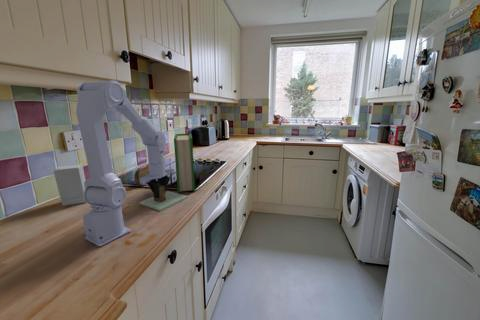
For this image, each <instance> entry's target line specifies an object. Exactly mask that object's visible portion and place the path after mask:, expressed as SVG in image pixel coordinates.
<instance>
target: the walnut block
mask: <svg viewBox="0 0 480 320" xmlns="http://www.w3.org/2000/svg"><path fill="white" fill-rule="evenodd" d="M152 197H154V195H152ZM165 200H166V197H165V186H163V185H159V198H155V197H154V201H157V202H163V201H165Z"/></svg>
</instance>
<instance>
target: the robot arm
mask: <svg viewBox="0 0 480 320" xmlns="http://www.w3.org/2000/svg"><path fill="white" fill-rule="evenodd" d="M76 94H77V95H76V96H77V104H76V110H75V113H76V118H77V122H78V127H79V132H80V136H81V141H82V144H83V148H84V154H85V158H86V163H87V168H88V172H89V177H88V178H87V179H86V181H85V182H84V185H85V191H84V199H85V201H86V203H87V204H88V205H90V206H89V207H90V208H91V210H90V211H88V212H87V213H84V214H83V216H82V223H83V227H84V234H85V237H84V238H85V240H87V241H89V242H90V243H92V244H94V245H96V246H97V247H102V246H104V245H106V244H108V243H110V242H112V241H114V240H117V239H118V238H120V237H122V236H124V235H126V234H128V233H131V231H132V230H131V229H130V228H128V227H126V226H125V223H124V216H123V209H122V208H123V207H122V206H123V205H124V202H125V200H126V197H127V192H126V188H125V187H124V185H123V183H122V180H121V178H119V176H117V175H116V174H115V173H114V171H113V165H112V160H111V154H110V149H109V144H108V140H107V134H106V129H105V123H104V117H105V115H106V114H107V113H108V112H109V111H111V110H113V109H116V110H117V111H118V112H119V113H120V114H122V115H123V117H125V118H126V120H128V121H129V122H131V129H133V130H134V131H135V132H136V133H137V134H138V135H139V136H140V138H141V141H142V144H143V145H144V146H146V152H147V159H148V160H147V161H148V165H149V172H150V173H149V174H148V175H146V176H144V177H142V178H139V179H140V183H141V184H146V183H147V186H148V187H149V189H150V191H151V192H152V194H153V195H154V197H155V198H159V185H163V186H165V194H166V191H167V188H168V185H169V182H170V180H171V177H170V176H171V175H172V176H173V175H175V169H172V168H169V169H166V165H165V153H164V151H165V148H166V147H165V145H166V142H167V137H166V135H165V133H164V132H162V131H160V130H158V129H157V128H156V127H155V126H154V125H153V123H152V122H151V121H150V119H149V118H148V117H146V116H141V115H140V113H139V112H138V111H137V109H136V108H135V107H134V106H133V105H132V103H131V101H129V99H128V97H127V91H126V90H125V88H124V87H123V86H122V84H120V83H119V82H118V81H117V80H113V79H112V80H103V81H102V80H100V81H89V80H88V81H84V82H82V83H81V84H80V85H79V86H78V87H77V88H76ZM153 195H152V196H153Z"/></svg>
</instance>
